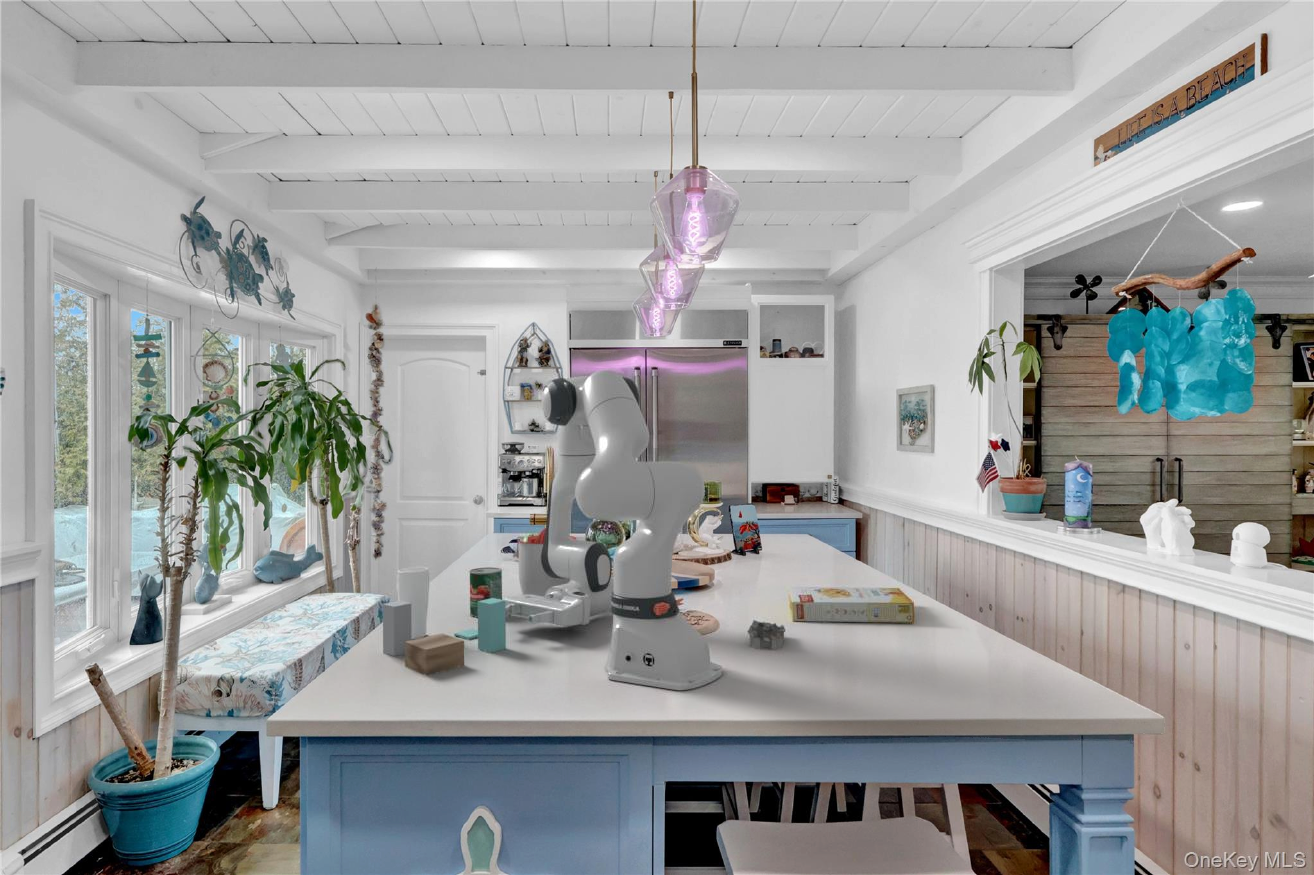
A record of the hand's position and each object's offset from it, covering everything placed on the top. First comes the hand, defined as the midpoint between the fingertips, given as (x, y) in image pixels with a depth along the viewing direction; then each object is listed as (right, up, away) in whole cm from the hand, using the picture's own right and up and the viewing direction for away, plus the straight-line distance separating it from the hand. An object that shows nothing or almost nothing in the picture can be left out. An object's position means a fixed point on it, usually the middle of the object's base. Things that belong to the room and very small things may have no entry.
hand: (516, 616), depth 158 cm
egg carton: (+54, -5, -2) cm, 54 cm away
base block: (-13, -6, -16) cm, 21 cm away
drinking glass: (-23, -6, +5) cm, 25 cm away
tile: (-11, -5, +5) cm, 14 cm away
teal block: (-4, -5, -5) cm, 9 cm away
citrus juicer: (0, -6, +38) cm, 39 cm away
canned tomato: (-12, -6, +25) cm, 29 cm away
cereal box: (+77, -5, +23) cm, 81 cm away
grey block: (-23, -6, -7) cm, 25 cm away
